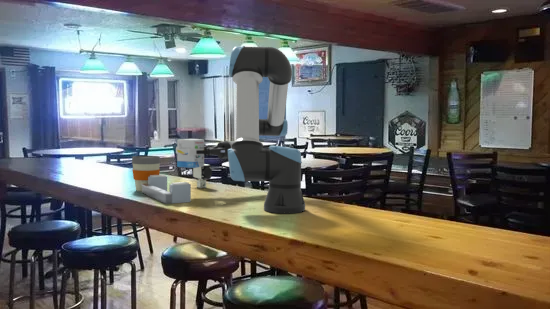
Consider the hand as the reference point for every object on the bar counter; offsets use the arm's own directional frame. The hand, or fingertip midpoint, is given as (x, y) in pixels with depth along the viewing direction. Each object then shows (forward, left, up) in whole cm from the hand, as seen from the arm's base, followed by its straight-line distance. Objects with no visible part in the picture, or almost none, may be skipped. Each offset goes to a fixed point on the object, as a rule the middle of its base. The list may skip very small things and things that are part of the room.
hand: (182, 151), depth 212 cm
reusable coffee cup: (+24, +8, -19) cm, 31 cm away
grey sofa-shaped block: (+1, +6, -19) cm, 20 cm away
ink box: (0, -4, -7) cm, 8 cm away
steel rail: (+1, +11, -19) cm, 22 cm away
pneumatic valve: (+21, -18, -19) cm, 33 cm away
